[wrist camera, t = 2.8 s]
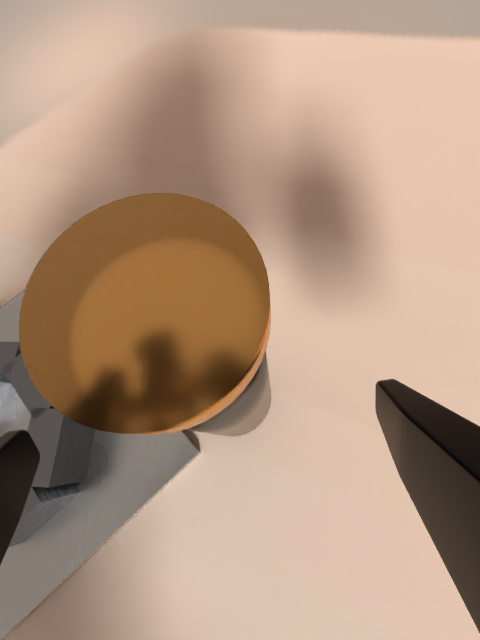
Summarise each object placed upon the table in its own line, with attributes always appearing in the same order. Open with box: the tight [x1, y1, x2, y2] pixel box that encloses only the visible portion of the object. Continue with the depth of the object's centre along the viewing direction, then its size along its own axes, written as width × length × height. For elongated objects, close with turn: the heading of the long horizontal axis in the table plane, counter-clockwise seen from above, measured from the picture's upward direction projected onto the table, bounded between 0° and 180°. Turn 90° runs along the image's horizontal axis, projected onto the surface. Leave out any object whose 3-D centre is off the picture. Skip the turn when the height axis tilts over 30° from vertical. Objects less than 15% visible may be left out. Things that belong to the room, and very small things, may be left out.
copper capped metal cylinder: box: [18, 193, 271, 436], centre depth 12 cm, size 4×4×13 cm
